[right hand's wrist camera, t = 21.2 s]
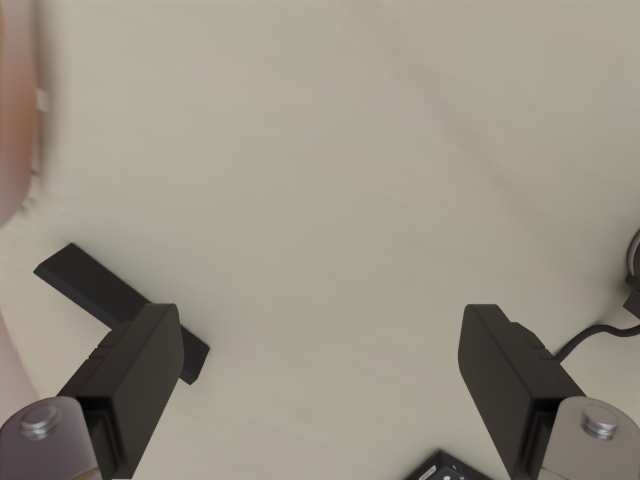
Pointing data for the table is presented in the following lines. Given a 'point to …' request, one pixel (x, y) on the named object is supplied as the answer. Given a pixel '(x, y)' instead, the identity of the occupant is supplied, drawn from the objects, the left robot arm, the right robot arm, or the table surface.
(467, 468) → the disk drive
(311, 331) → the table surface
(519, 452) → the right robot arm
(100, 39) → the table surface
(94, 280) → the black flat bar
